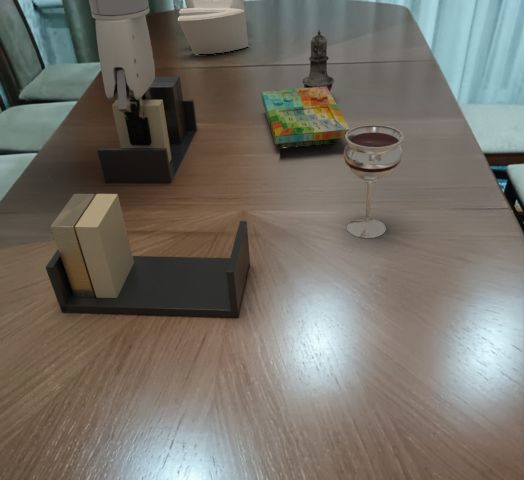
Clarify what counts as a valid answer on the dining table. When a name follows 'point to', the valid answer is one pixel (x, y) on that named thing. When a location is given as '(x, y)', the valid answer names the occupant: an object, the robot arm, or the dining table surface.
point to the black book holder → (137, 268)
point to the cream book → (156, 125)
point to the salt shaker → (318, 64)
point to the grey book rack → (155, 159)
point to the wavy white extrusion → (214, 25)
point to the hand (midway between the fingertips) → (143, 139)
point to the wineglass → (371, 167)
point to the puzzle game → (304, 117)
